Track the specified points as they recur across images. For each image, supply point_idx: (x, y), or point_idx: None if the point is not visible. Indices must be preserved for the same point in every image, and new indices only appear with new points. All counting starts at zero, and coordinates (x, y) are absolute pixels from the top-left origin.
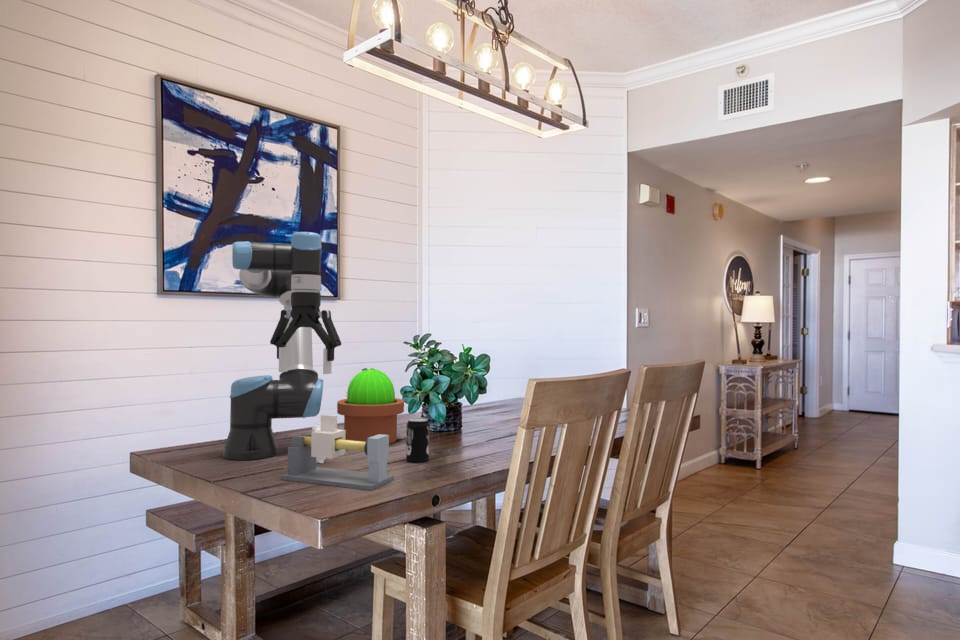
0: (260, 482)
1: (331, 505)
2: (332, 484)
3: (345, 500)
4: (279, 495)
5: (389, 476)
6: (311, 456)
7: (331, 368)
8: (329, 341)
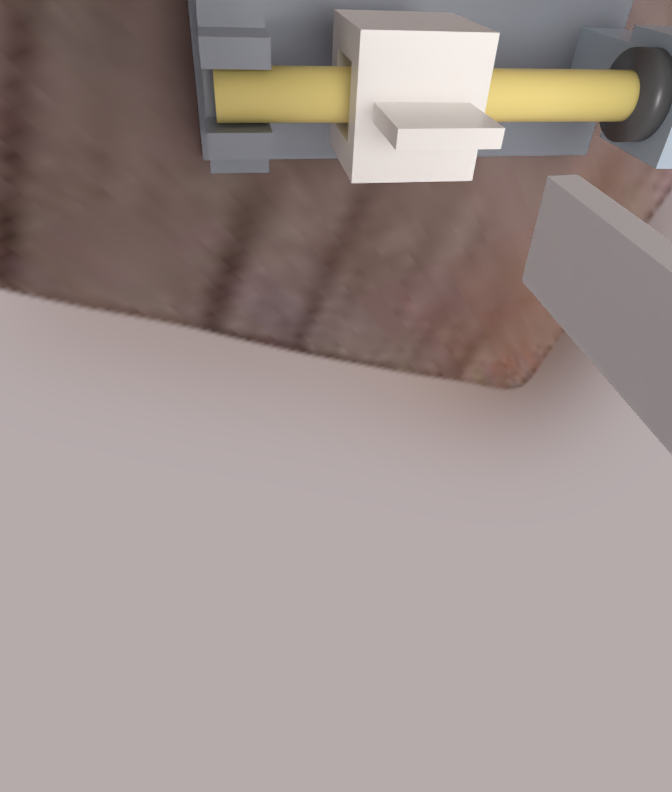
0: (161, 221)
1: (508, 315)
2: None
3: None
4: (329, 306)
5: None
6: (330, 142)
7: (606, 196)
8: None
